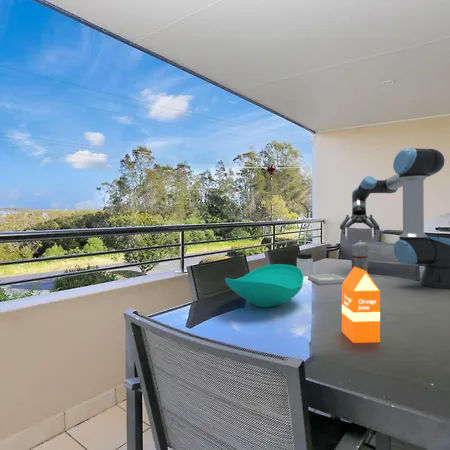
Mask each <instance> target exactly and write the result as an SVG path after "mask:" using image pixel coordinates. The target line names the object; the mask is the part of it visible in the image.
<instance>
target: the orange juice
mask: <svg viewBox="0 0 450 450" xmlns="http://www.w3.org/2000/svg"><path fill="white" fill-rule="evenodd" d="M380 298H381V291H380V289H379V288H378V286H377V284H375V282H374V281H373V279H372V278H371V277H370V275H369V273H368V274H367V271H364V270H362V269H359V268H357V267H354V268H353V269H352V268H351V270H350V272H349V273H348V275H347V277H346V278H345V281H344V282H343V284H341V332H342V334H343V335H345V336H346V338H348V339H349V340H350V341H351V342H352V343H354V344H355V343H380V342H381V337H380V336H381V331H380V330H381V299H380Z"/></svg>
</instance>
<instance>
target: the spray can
mask: <svg viewBox="0 0 450 450" xmlns="http://www.w3.org/2000/svg"><path fill="white" fill-rule="evenodd" d="M368 245H369V244H368V242H363V241H361V242H360V241H359V242H356V243H354V244H352V245H351V253H350V254H351V270H352V269H353V268H354V267H357V268H359V269H362V270H364V271H367V274H368V275H369V254H368V253H369V252H368V250H369V248H368V247H369V246H368Z"/></svg>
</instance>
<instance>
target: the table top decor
mask: <svg viewBox="0 0 450 450" xmlns="http://www.w3.org/2000/svg"><path fill="white" fill-rule="evenodd" d="M304 277H305V276H303V273H302V271H301V270H300V269H299V268H298V267H297V265H296V266H295V265H292V264H283V263H282V264H281V263H277V264H276V263H275V264H267V265H262V266H259V267H257V268H255V269H253V270H251V271H250V272H248V273H247V274H245V275H244V276H241V277H239V278H235V279H233V278H229V277H226V278H224V280H225V284H226V285H227V286H228V288H230V290H231V291H233V292H234V293H235V294H237V295H238V296H239V297H241V298H243V299H244V300H246V301H248V302H249V303H251V304H253V305H254V306H256V307H260V308H271V307H276V306H279V305H282V304H284V303H288V302H290V301H291V300H292V299H293V298H294V297H295V296H297V294H299V292H300V291H301V289H302V288H303V285H304Z"/></svg>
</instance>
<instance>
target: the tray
mask: <svg viewBox="0 0 450 450" xmlns="http://www.w3.org/2000/svg"><path fill="white" fill-rule="evenodd" d="M307 278H308V279H307V280H308V281H311V282H312V283H315V284H316V285H319V286H324V285H325V286H327V285H342V284H343V282H344V281H345V279H346V278H345V277H343V276H339V275H337V274H334V273H323V274H320V273H319V274H313V275H308V276H307Z"/></svg>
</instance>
